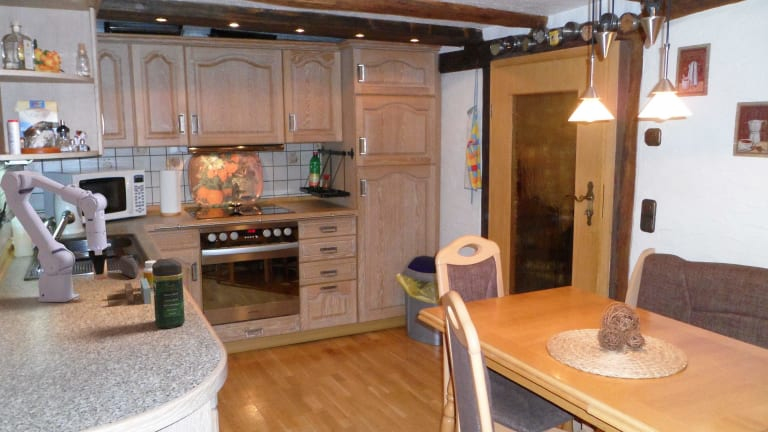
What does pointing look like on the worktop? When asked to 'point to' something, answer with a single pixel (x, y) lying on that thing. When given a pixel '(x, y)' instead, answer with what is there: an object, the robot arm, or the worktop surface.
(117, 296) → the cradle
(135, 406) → the worktop surface
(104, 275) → the pink egg shape
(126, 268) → the perforated stone tool
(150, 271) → the supplement bottle
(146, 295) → the backstop board
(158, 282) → the coffee jar
